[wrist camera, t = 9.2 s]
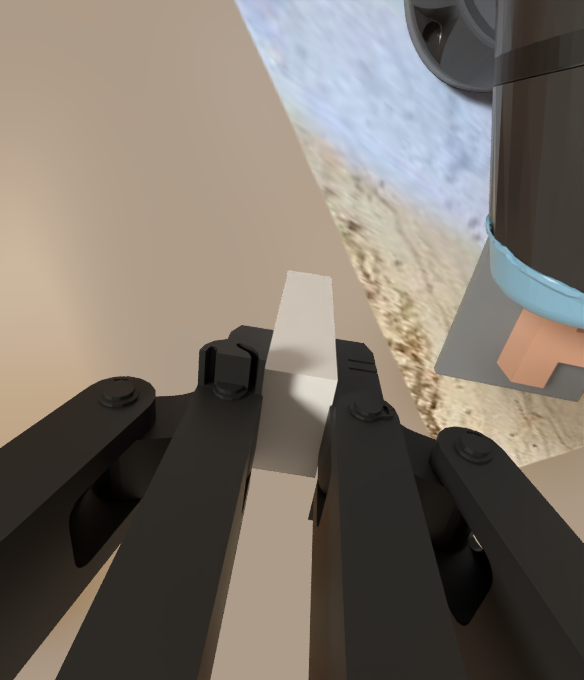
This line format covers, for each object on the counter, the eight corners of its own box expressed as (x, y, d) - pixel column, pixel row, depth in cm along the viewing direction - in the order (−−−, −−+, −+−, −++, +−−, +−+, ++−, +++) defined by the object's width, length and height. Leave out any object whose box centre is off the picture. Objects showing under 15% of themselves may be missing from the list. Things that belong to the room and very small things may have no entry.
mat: (488, 235, 41) (493, 238, 40) (649, 269, 42) (658, 273, 41) (433, 368, 49) (436, 373, 48) (571, 395, 49) (577, 401, 48)
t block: (537, 279, 42) (557, 293, 38) (631, 299, 42) (659, 315, 38) (496, 362, 46) (511, 381, 43) (581, 379, 47) (602, 400, 43)
